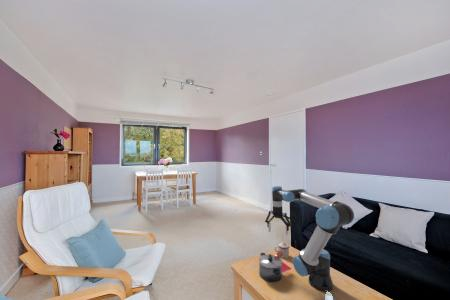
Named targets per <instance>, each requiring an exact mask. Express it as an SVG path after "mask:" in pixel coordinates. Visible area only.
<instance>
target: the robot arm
mask: <svg viewBox="0 0 450 300" xmlns="http://www.w3.org/2000/svg"><path fill="white" fill-rule="evenodd" d="M271 195H272V197H271V198H272V204H271V205H272V211H271V210H269V211H268V215H267V216H266V219H265V221H264V222H265V223H266V224H267V228H268V232H269V233H271V230H272V229H271V227H272V226H271V221H273V220H274V219H280V220H281V222H282V223H284V225H285V236H288V235H289V234H288V232H289V229H290V227H291V226H292V223H291V222H290V219H289V217H288V213H287V212H285V213H284V212H283V201H284V202H286V203H292V202H293V201H296V200H298V201H302V202H304V203H306V204H308V205H310V206H313V207H315V208H317V210H316V213H315V222H316V225H317V226H316V227H315V229H314V231H313V233H312V235H311V237H310V238H309V241H308V242H307V245H306V246H305V248H302V249H301V250H300V252H299V254H298V255H295V256H294V257H293V259H292V264H293V268H294V270H295V272H296V273H297V274H298V275H299V276H301V277H308V283H309V286H311V287H312V288H314V289H315V290H319V291H322V292H326V291H325V290H330V291H332V290H333V289H334V283H333V279H332V276H331V254H330V252H329V251H328V250H326V249H324V248H325V247H326V245H327V243H328V241H329V240H330V238H331V237H332V235H336V234H337V233H338V231H339V230H340V228H341V227H343V226H347V225H350V224H351V223H353V221H354V219H355V213H354V210H353V209H352V208H351V206H349V205H348V204H346V203H343V202H341V201H338V200H337V201H334V200H330V199H327V198H324V197H321V196H318V195H316V194H314V193H310V192H308V191H306V189H305V188H299V189H290V190H289V189H287V190H285V189H283V187H282V186H281V185H279V186H278V185H273V186H272V188H271ZM271 215H272V216H271ZM270 216H271V217H270Z"/></svg>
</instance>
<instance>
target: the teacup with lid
mask: <svg viewBox="0 0 450 300" xmlns="http://www.w3.org/2000/svg"><path fill="white" fill-rule="evenodd" d="M276 248H277V249H278V250H277V249H276ZM274 251H275V252H276V253H278V252H280V251H281V252H283V256H282V257H281V259H288V258H289V257H290V252H289V251H290V245H289V244H288V243H286V242H285V241H282V242H280V243H278V245H276V246H275V247H274Z"/></svg>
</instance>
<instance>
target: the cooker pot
mask: <svg viewBox="0 0 450 300" xmlns="http://www.w3.org/2000/svg"><path fill="white" fill-rule="evenodd" d="M262 255H267V253H265V252H260V256H262ZM258 263H259V262H258ZM258 266H259V268H258V269H259V270H258V271H259V273H258V275H259V277H260V278H261V279H262V280H264V281H266V282H270V283H276V282H279V281H281V279H282V277H283V276H282V275H283V271H282V266H283V265H282V266H281V267H280V268H277V269H269V268H265V267H263V266H262V265H261V264H260V263H259V265H258Z"/></svg>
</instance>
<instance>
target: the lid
mask: <svg viewBox="0 0 450 300" xmlns="http://www.w3.org/2000/svg"><path fill="white" fill-rule="evenodd" d="M282 256H283V252H281V251H280V252H276V253H275V254H270V253H269V254H266V255H262V256H261V255H260V256H259V257H258V263H260V264H261V265H262V266H263V267H265V268H269V269H277V268H280V267H281V266H283V260H282Z"/></svg>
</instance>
